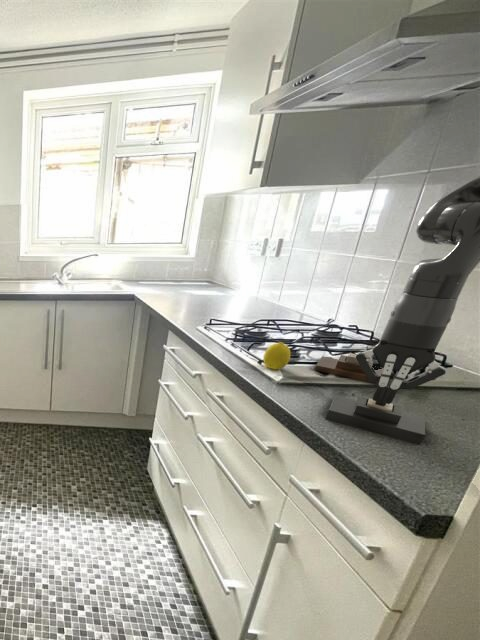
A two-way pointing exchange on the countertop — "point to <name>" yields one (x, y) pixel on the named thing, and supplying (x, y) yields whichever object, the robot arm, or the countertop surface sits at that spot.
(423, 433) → the dark grey stepped block
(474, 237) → the robot arm
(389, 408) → the ivory key
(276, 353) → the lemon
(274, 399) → the countertop surface
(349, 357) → the beige square block
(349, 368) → the brown stepped block
